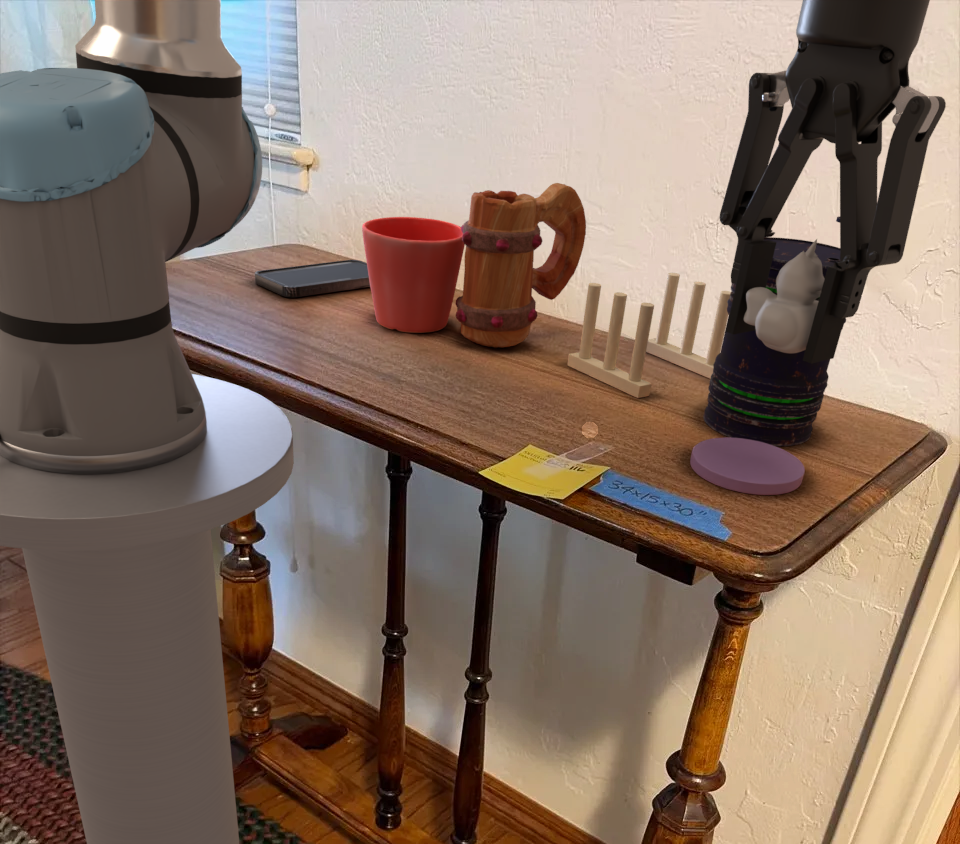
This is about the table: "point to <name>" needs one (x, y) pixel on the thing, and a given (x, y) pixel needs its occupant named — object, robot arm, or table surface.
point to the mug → (515, 260)
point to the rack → (656, 346)
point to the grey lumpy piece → (787, 304)
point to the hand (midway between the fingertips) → (778, 344)
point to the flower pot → (412, 271)
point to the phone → (315, 278)
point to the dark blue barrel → (768, 374)
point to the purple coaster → (747, 466)
